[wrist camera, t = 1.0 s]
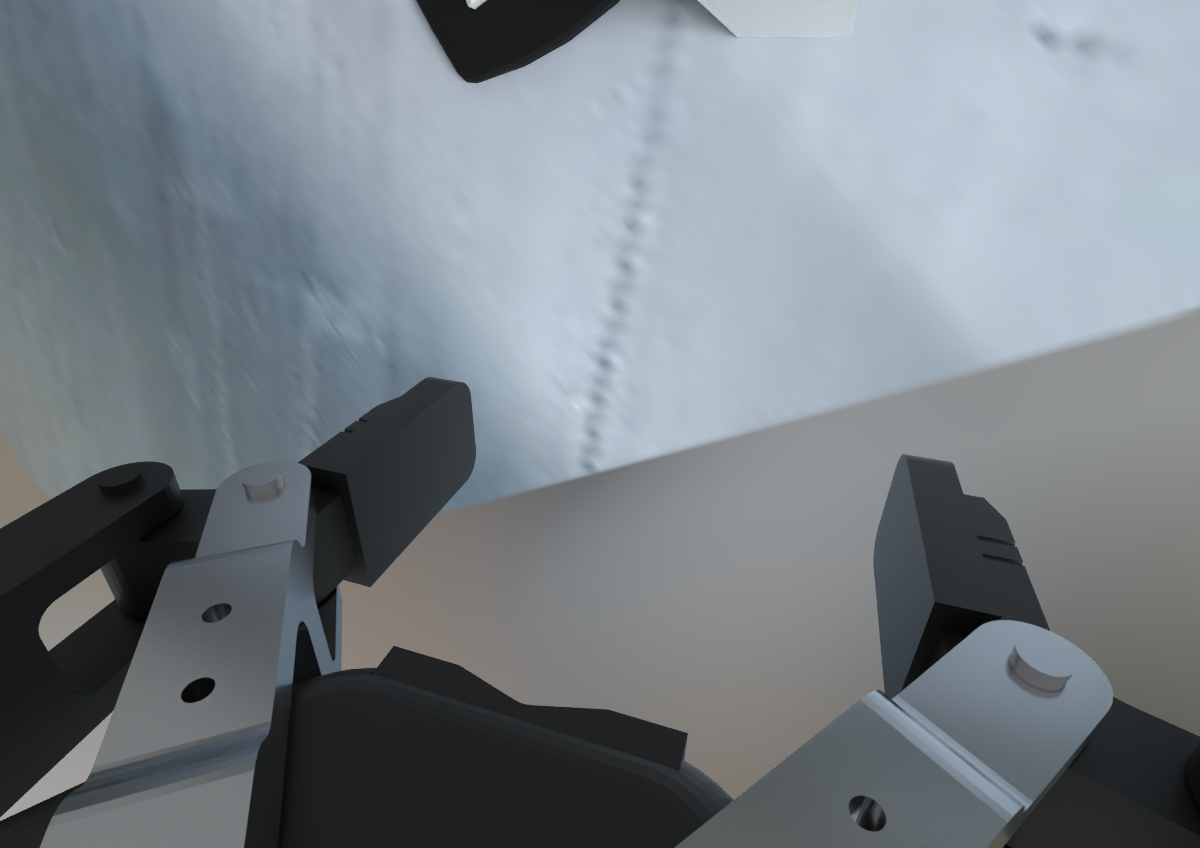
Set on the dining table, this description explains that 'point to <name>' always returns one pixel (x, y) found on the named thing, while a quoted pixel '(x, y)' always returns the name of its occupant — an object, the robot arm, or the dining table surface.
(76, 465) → the dining table surface
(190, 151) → the dining table surface
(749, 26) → the block
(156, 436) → the dining table surface
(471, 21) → the light switch
